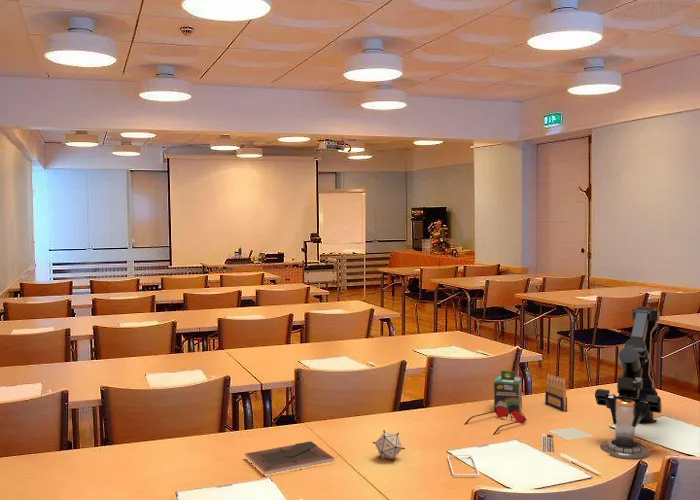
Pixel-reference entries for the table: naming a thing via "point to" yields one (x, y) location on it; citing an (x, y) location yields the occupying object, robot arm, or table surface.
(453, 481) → the table surface
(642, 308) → the robot arm
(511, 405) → the chalk box
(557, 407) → the ammunition clip
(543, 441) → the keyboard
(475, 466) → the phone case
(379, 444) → the game die
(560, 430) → the stand pad
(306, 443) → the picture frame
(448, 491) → the table surface
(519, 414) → the glasses
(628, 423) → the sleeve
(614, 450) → the hub flange
